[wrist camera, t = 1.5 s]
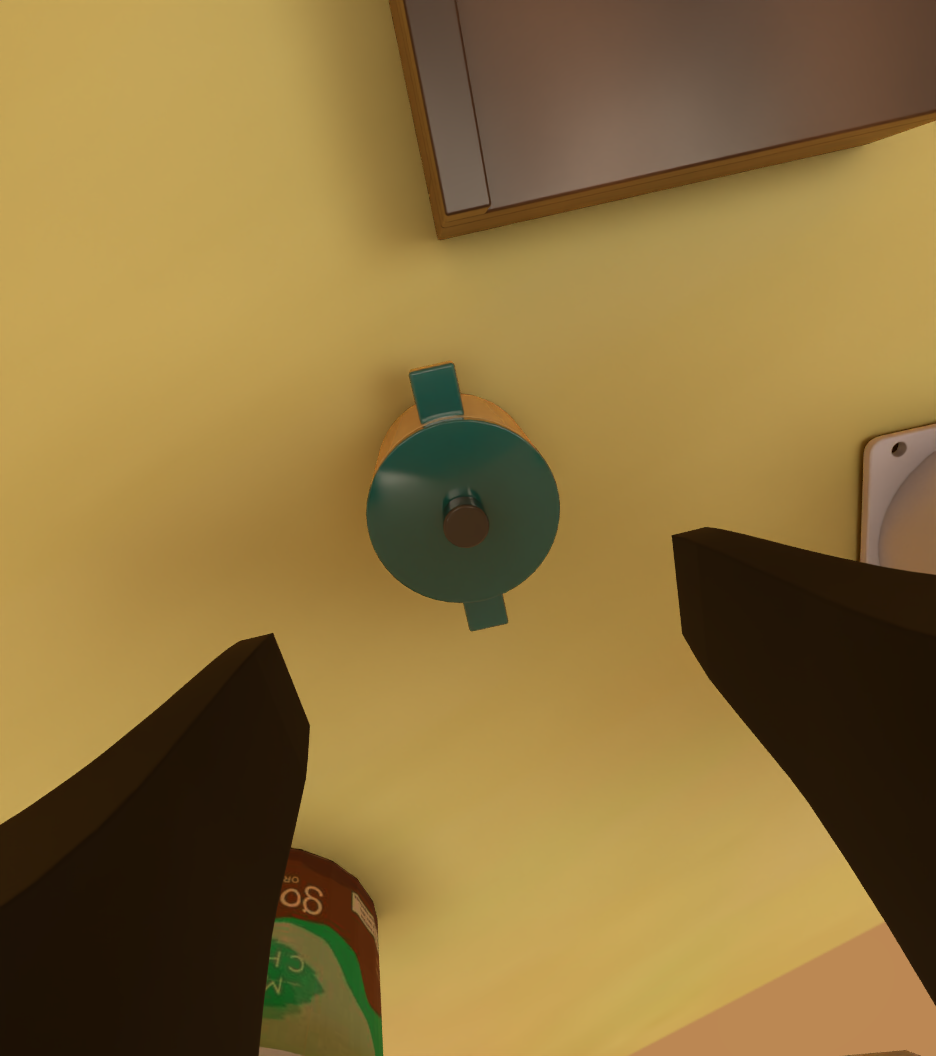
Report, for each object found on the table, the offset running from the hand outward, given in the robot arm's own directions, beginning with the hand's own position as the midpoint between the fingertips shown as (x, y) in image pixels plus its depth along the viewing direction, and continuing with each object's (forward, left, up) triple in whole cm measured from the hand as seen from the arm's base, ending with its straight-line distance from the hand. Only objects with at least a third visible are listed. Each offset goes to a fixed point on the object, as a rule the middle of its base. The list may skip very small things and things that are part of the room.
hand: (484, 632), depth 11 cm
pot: (0, 0, -11) cm, 11 cm away
